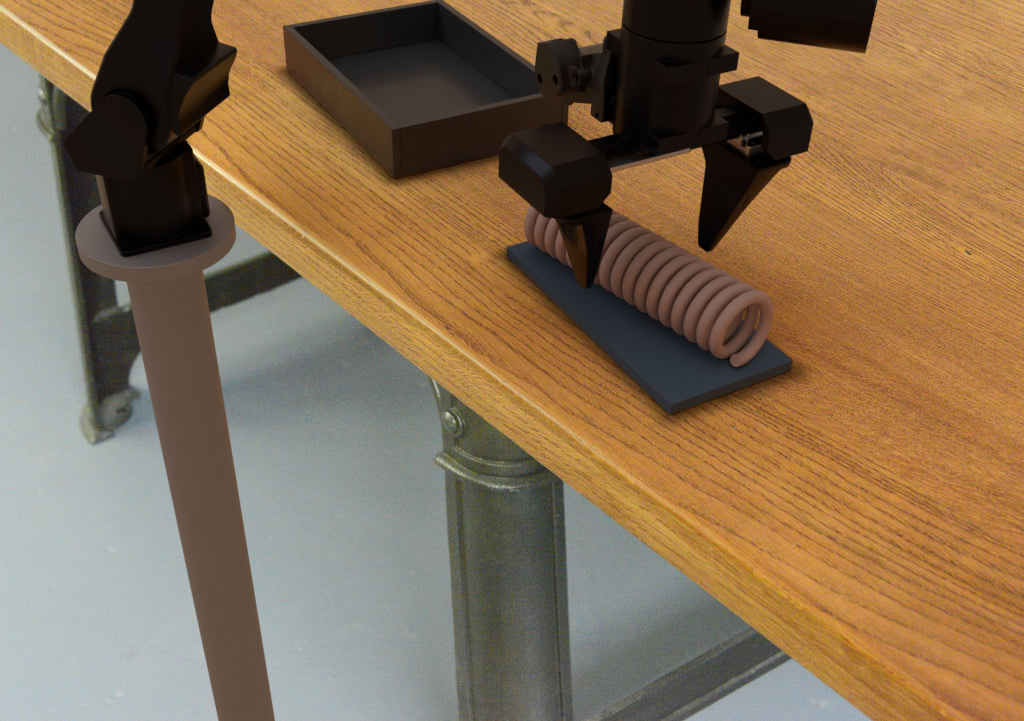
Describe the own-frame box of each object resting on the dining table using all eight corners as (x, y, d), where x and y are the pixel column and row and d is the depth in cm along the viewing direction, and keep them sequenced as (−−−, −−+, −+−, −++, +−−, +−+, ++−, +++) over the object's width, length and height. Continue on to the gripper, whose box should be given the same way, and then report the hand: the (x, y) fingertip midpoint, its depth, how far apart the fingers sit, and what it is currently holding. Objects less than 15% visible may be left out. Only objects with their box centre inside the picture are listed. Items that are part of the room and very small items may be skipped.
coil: (517, 196, 75) (731, 321, 64) (569, 168, 77) (784, 284, 66) (520, 254, 78) (725, 382, 67) (570, 226, 80) (776, 346, 69)
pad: (669, 415, 66) (671, 404, 65) (505, 256, 78) (506, 246, 78) (791, 370, 69) (793, 359, 69) (615, 225, 82) (616, 216, 82)
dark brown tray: (393, 179, 87) (391, 129, 84) (286, 70, 102) (282, 25, 99) (567, 138, 93) (570, 90, 90) (441, 41, 108) (441, -2, 106)
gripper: (719, -45, 72) (688, 178, 81) (452, 1, 64) (453, 242, 74) (842, 15, 64) (793, 253, 74) (557, 75, 56) (543, 333, 66)
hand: (645, 266), depth 72 cm, fingers open, 9 cm apart
